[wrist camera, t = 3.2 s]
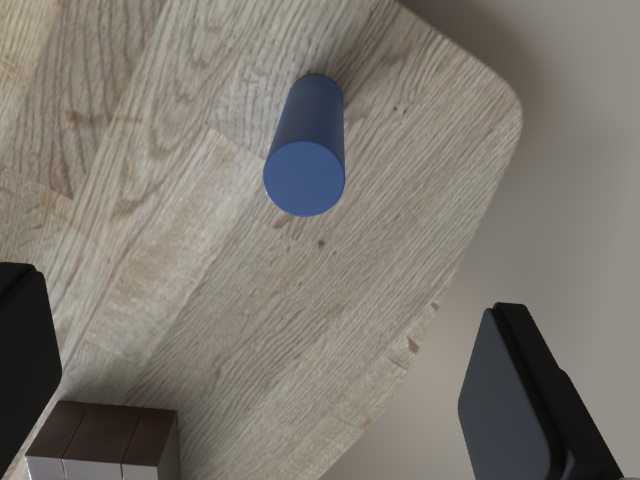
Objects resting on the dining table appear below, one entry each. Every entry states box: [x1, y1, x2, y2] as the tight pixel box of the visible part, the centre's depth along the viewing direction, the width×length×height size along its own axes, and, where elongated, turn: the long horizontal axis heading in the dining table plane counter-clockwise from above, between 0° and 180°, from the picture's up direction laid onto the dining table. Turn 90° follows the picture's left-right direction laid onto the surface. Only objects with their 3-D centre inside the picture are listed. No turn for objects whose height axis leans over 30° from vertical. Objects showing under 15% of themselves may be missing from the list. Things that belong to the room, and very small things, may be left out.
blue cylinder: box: [263, 74, 345, 217], centre depth 24 cm, size 3×3×11 cm
